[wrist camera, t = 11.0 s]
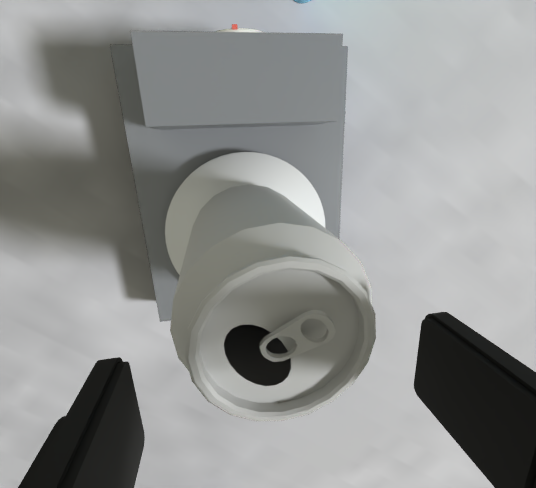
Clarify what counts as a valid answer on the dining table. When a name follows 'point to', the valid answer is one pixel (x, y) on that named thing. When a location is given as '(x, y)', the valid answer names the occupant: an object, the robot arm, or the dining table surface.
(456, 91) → the dining table surface
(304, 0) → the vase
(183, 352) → the can
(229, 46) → the scale
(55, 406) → the dining table surface
